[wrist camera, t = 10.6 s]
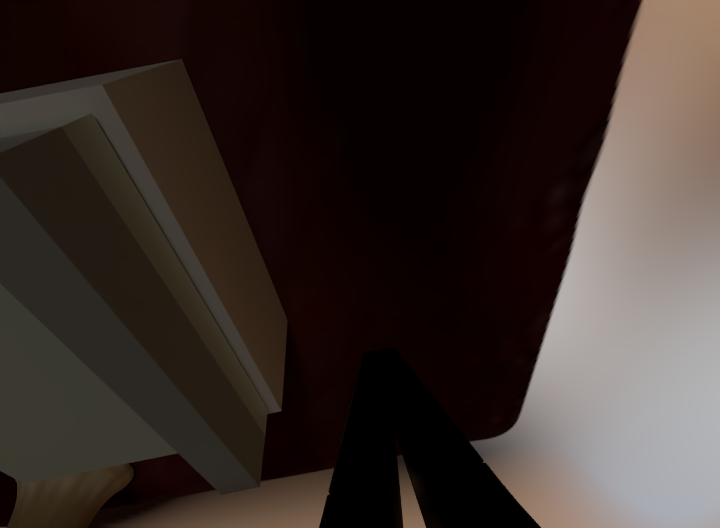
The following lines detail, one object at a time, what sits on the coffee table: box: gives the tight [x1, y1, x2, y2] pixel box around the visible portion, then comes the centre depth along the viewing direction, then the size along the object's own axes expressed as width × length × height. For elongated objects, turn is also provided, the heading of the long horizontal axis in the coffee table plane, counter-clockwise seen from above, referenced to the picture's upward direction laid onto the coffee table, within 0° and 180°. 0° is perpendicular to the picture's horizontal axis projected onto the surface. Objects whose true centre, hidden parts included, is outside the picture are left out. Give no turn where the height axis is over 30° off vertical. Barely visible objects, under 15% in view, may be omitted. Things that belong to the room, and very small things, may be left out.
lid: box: [0, 113, 268, 494], centre depth 10 cm, size 10×13×3 cm
